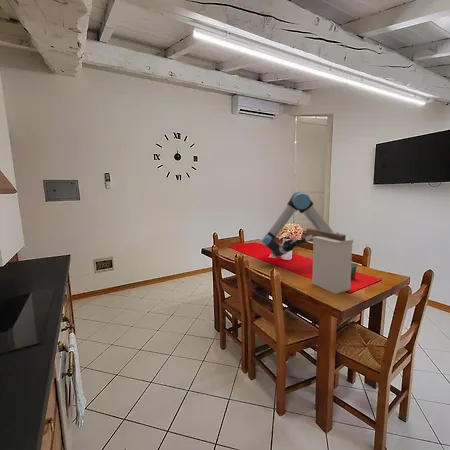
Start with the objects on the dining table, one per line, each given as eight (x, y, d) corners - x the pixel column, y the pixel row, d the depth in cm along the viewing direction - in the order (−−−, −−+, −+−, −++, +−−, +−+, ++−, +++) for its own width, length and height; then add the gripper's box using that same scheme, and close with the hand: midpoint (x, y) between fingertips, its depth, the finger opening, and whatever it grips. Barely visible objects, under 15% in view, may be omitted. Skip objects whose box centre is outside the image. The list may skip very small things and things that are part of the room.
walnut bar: (309, 232, 175) (309, 228, 175) (345, 240, 150) (345, 235, 150) (306, 233, 174) (306, 228, 174) (341, 240, 149) (341, 235, 149)
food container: (334, 275, 180) (334, 261, 178) (339, 273, 183) (339, 259, 182) (351, 280, 170) (352, 265, 169) (356, 278, 174) (357, 263, 172)
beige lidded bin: (326, 280, 172) (328, 234, 168) (350, 289, 156) (353, 239, 152) (311, 283, 167) (312, 236, 162) (334, 294, 151) (336, 242, 146)
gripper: (301, 249, 201) (319, 240, 183) (274, 254, 190) (290, 244, 172) (297, 240, 203) (316, 230, 185) (270, 244, 193) (287, 234, 174)
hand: (303, 237), depth 179 cm, fingers open, 13 cm apart
